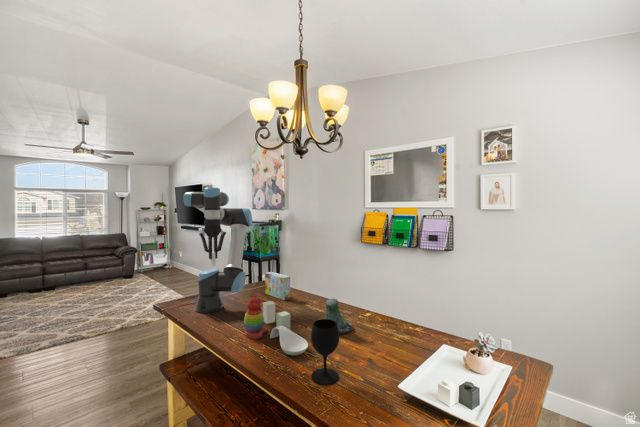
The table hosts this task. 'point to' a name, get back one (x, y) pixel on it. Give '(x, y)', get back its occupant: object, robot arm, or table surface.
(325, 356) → the wine glass
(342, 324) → the tree stump
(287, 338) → the spoon rest
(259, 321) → the stacking bear
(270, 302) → the off-white block
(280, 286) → the snack box
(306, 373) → the table surface
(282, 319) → the sage-green block
